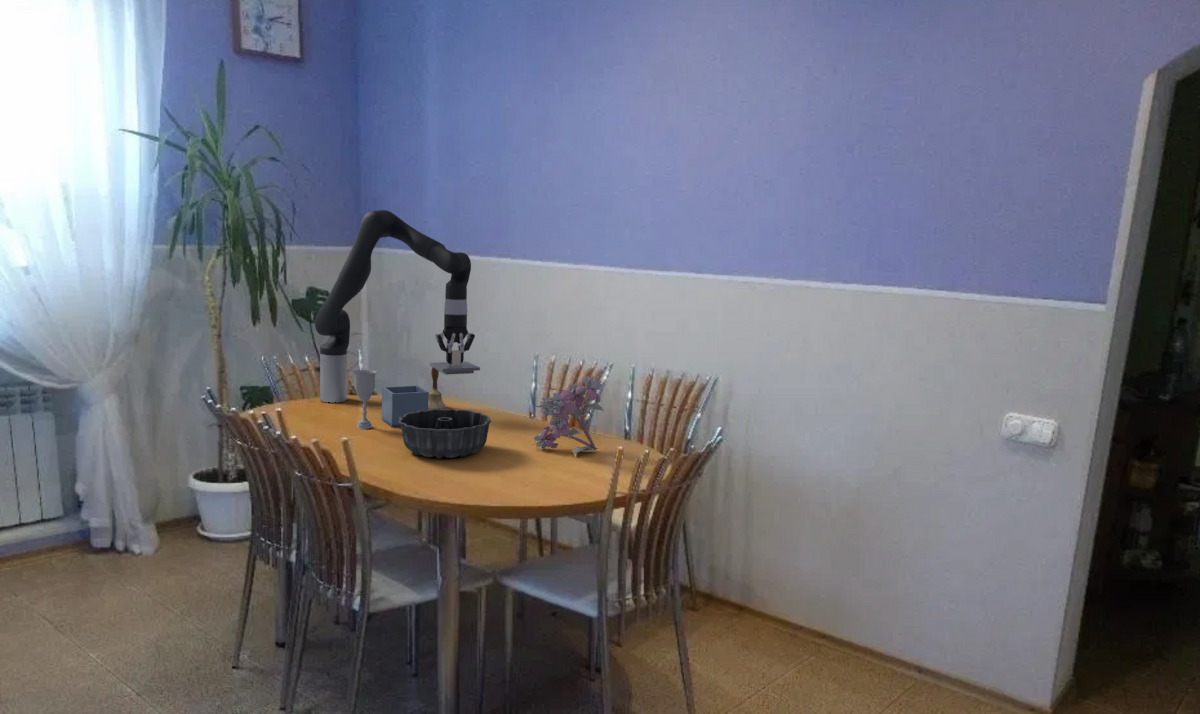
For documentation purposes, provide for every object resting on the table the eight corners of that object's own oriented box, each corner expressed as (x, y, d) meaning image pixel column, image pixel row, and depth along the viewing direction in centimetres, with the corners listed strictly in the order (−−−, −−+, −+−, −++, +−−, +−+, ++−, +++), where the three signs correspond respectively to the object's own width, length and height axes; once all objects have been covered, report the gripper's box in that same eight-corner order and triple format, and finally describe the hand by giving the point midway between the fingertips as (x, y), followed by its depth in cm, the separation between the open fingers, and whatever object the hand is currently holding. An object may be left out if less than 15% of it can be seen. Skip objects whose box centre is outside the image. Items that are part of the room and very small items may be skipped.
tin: (381, 419, 285) (382, 387, 283) (416, 417, 291) (417, 385, 289) (391, 427, 275) (392, 394, 273) (428, 424, 281) (428, 392, 279)
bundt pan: (406, 466, 232) (406, 430, 231) (391, 442, 256) (391, 410, 255) (500, 461, 242) (501, 426, 241) (477, 438, 266) (478, 407, 265)
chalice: (379, 425, 276) (379, 370, 274) (371, 430, 270) (372, 374, 267) (357, 424, 277) (357, 369, 274) (349, 429, 270) (349, 372, 268)
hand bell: (446, 409, 305) (447, 365, 303) (423, 409, 303) (423, 365, 301) (445, 404, 313) (446, 361, 311) (422, 404, 311) (423, 361, 309)
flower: (578, 432, 273) (550, 365, 264) (629, 440, 257) (601, 368, 248) (535, 469, 261) (504, 399, 252) (586, 479, 245) (555, 405, 236)
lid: (429, 369, 291) (430, 348, 290) (466, 367, 298) (466, 347, 297) (442, 375, 280) (443, 353, 279) (479, 373, 286) (480, 352, 285)
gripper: (471, 311, 293) (470, 361, 295) (431, 311, 286) (431, 362, 288) (479, 313, 286) (478, 364, 289) (439, 313, 279) (438, 366, 282)
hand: (454, 363), depth 288 cm, fingers closed on lid, 3 cm apart
